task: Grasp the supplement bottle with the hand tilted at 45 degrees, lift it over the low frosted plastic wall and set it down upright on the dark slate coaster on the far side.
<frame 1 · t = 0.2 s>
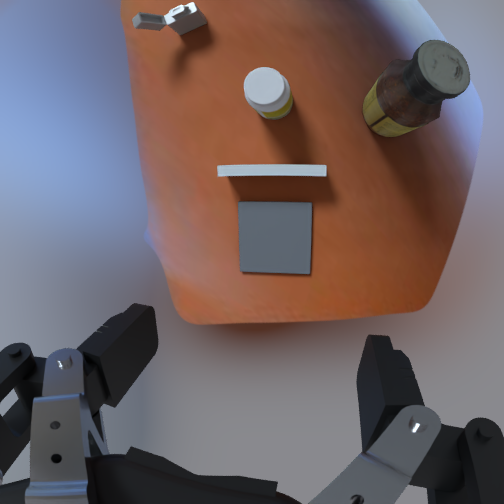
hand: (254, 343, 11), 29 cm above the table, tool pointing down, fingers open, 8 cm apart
lighter: (182, 30, 34), on the table
sauce bottle: (383, 112, 33), on the table
coaster: (275, 237, 39), on the table
wall: (274, 169, 37), on the table
supplement bottle: (273, 101, 35), on the table
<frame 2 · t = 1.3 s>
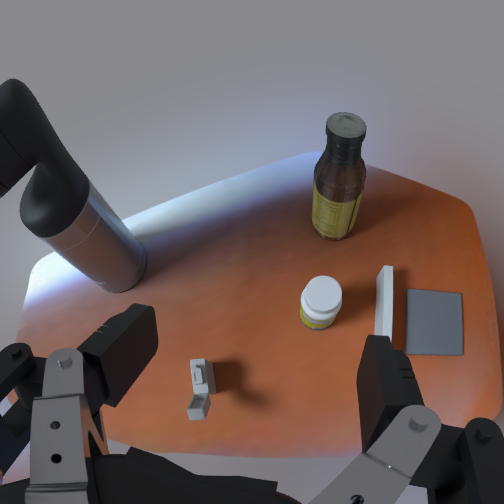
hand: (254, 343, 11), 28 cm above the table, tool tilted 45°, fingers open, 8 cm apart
lighter: (209, 389, 37), on the table
sauce bottle: (330, 226, 46), on the table
coaster: (434, 323, 37), on the table
wall: (379, 319, 38), on the table
supplement bottle: (316, 314, 40), on the table
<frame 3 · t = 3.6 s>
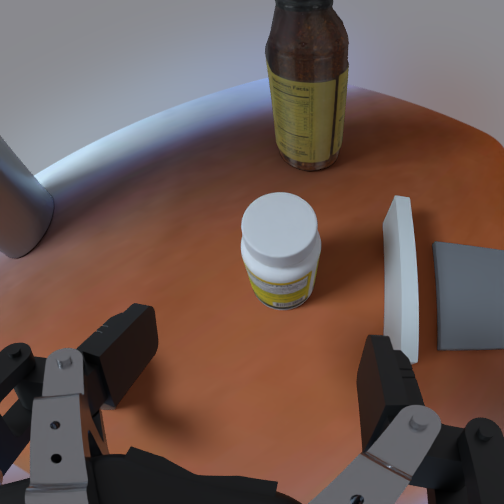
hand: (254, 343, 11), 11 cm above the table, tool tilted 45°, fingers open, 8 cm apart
sauce bottle: (307, 153, 29), on the table
coaster: (479, 297, 21), on the table
wall: (391, 291, 22), on the table
supplement bottle: (282, 282, 24), on the table
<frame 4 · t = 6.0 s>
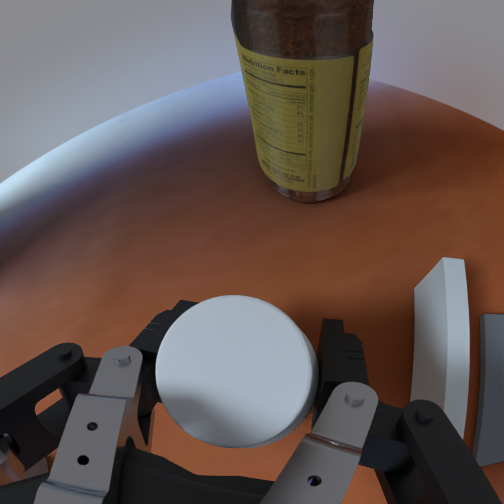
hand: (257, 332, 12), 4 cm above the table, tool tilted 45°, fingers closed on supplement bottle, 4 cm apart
lighter: (48, 499, 12), on the table
sauce bottle: (304, 174, 20), on the table
wall: (420, 395, 13), on the table
supplement bottle: (260, 385, 15), on the table, touching gripper
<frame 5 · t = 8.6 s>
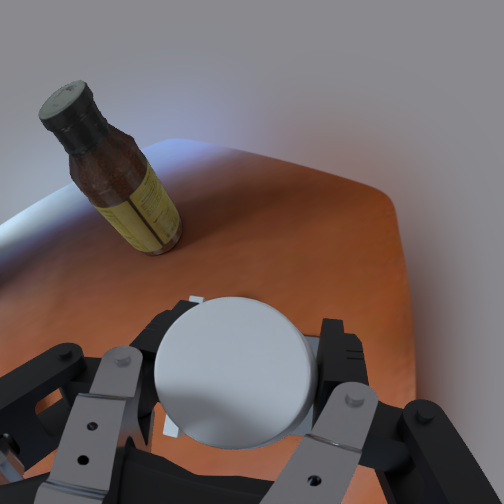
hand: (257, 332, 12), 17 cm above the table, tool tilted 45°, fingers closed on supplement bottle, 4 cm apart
sauce bottle: (157, 235, 34), on the table
coaster: (288, 384, 26), on the table
wall: (195, 370, 27), on the table
supplement bottle: (259, 385, 15), point 12 cm above the table, touching gripper
when the fingers open (6 cm above the table, at t = 11.0 s): supplement bottle drops 2 cm, resting on coaster.
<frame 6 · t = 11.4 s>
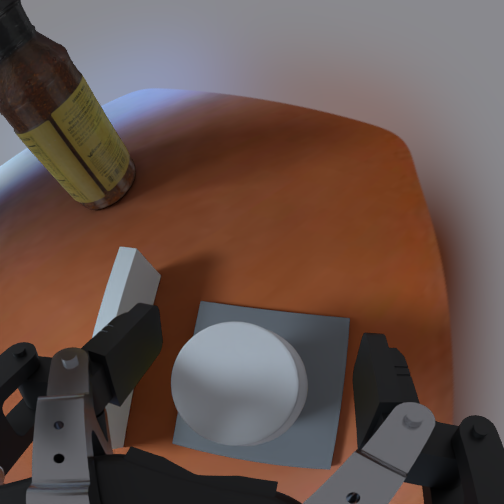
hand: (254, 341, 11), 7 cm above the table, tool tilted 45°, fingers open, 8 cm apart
sauce bottle: (107, 187, 25), on the table
coaster: (263, 386, 17), on the table
wall: (131, 359, 18), on the table
supplement bottle: (258, 389, 16), resting on coaster
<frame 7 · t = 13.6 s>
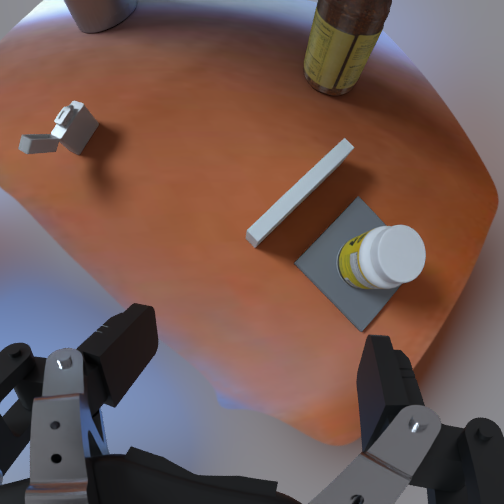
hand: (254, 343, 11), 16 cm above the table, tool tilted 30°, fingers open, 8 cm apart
lighter: (77, 149, 29), on the table
sauce bottle: (325, 78, 31), on the table
coaster: (359, 263, 28), on the table
wall: (296, 198, 29), on the table
supplement bottle: (358, 263, 28), resting on coaster
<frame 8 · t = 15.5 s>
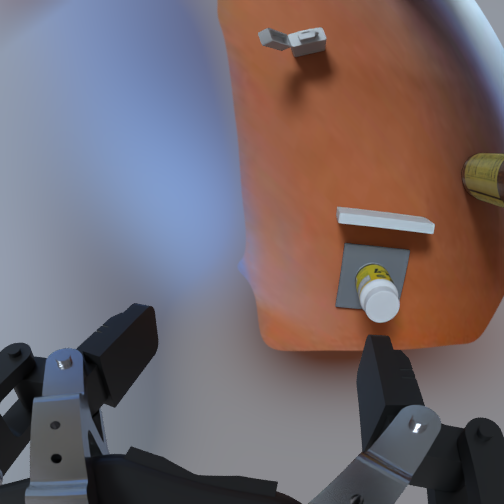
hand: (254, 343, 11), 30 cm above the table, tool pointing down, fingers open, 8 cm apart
lighter: (296, 51, 33), on the table
sauce bottle: (476, 174, 33), on the table
coaster: (372, 278, 40), on the table
wall: (382, 216, 37), on the table
supplement bottle: (371, 277, 40), resting on coaster
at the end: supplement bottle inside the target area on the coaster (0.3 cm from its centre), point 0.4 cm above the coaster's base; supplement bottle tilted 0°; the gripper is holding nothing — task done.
